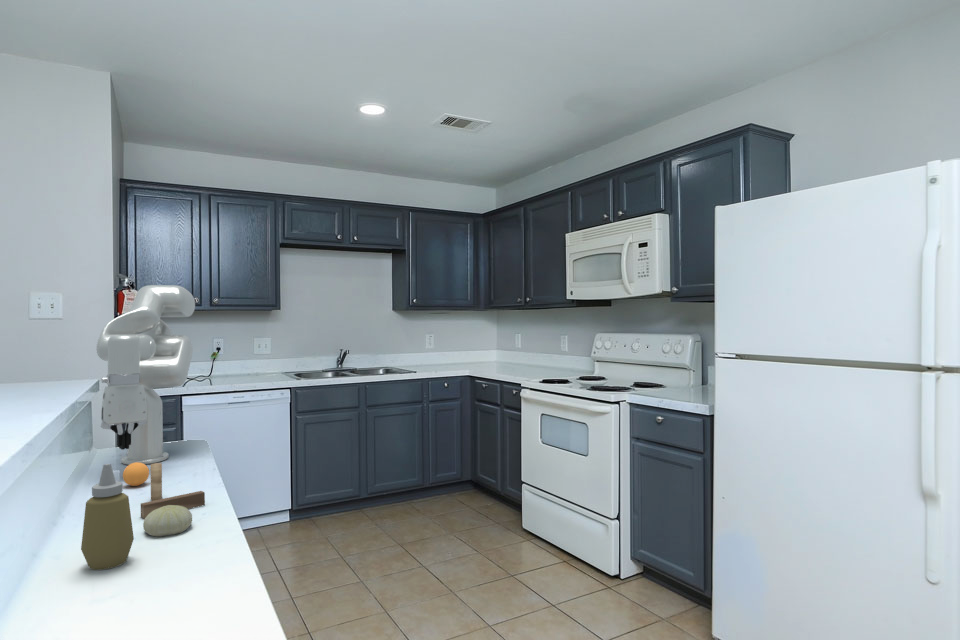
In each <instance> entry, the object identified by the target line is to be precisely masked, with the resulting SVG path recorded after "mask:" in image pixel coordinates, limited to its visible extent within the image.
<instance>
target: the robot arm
mask: <svg viewBox="0 0 960 640" xmlns="http://www.w3.org/2000/svg"><path fill="white" fill-rule="evenodd" d="M195 309H196V302H195V299H194V295H193V294H192V293H191V292H190V291H189V290H187V289H186V288H185V287H183V286H180V285H176V284H175V285H169V284H167V285H163V284H152V285H151V284H149V285H144V286H141V288H140V289H138V291H137V293H136V295H135V297H134V300H133V302H132V305H131V306H130V309H129V311H127V312H124V313H123V314H121V315H119V316H117V317H115V318H113V319H112V320H110V321H109V322H107V324H105V325H104V326H103V328H102V330H101V332H100V334H99V336H98V340H97V342H96V343H97V344H96V355H97V356H98V358H99V359H100V360H102V361H106V362H107V375H106V376H104V377H101V383H103V384H107V386H105V387H104V389H103V395H102V403H101V411H100V412H101V413H100V415H101V416H100V418H101V424H100V428H101V429H103V430H105V429H106V430H112V432H114V434H116V446H117V447H119V449H120V450H126V453H127V454H126V455H125V456H123V457H122V458H121V460H120V462H121V464H123V465H127V466H128V465H130V464H132V463H136V462H140V463H143V464H145V465H149V464H150V465H151V464H154V463H161V462H162V461H165V460H168V459H169V453H168V452H166V451H164V445H163V443H164V439H163V438H164V437H163V436H164V434H163V433H164V432H163V430H164V429H163V428H164V426H163V423H164V422H163V419H164V418H163V400H162V398H161V396H160V395H159V394H158V393H157V392H156V390H155V389H158V388H161V389H162V388H177V387H181V386H183V385H184V384H185V383H186V381H187V380H188V374H189V370H190V366H191V363H192V362H191V361H192V357H193V343H192V340H191V338H190V337H188V336H187V335H184V334H172V329H171V327H170V326H169V325H168V324H167V323H166V322H165V321H164V320H162V319H161V318H188V317H189V318H190V317H191V316H192V315H193V314H194V312H195ZM122 424H125V429H123V425H122Z"/></svg>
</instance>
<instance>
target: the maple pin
mask: <svg viewBox="0 0 960 640" xmlns="http://www.w3.org/2000/svg"><path fill="white" fill-rule="evenodd" d="M162 471H163V463H162V462H156V463H150V501H155V500H160V499H163V472H162Z"/></svg>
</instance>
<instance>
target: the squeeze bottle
mask: <svg viewBox="0 0 960 640" xmlns="http://www.w3.org/2000/svg"><path fill="white" fill-rule="evenodd" d="M113 470H114V469H113V467H112V464H111V463H106V464H103V465H102V469H101V474H100V477H99V481H98V483H96V484H94V485H93V486H92V487H91V495H92V496H91V497H90V498H89V499H87V501H86V502H85V509H84V518H83V519H84V520H83V526H82V527H83V528H82V536H81V546H80V550H81V553H82V554H83V557H84V559H85V562H86V564H87V567H88V568H89V569H90V570H94V571H97V570H98V571H99V570H102V571H103V570H108V569H112V568H116V567H119V566H122V565H123V564H124V563H126V562H127V560H128V557H129V554H130V552H131V548H132V546H133V543H134V539H135V537H134V530H133V523H132V522H133V521H132V515H131V507H130V506H131V505H130V499H129V495H127V494H126V493H124V492H123V482H121V481H120V482H118V481H115V477H114V474H113Z"/></svg>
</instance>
